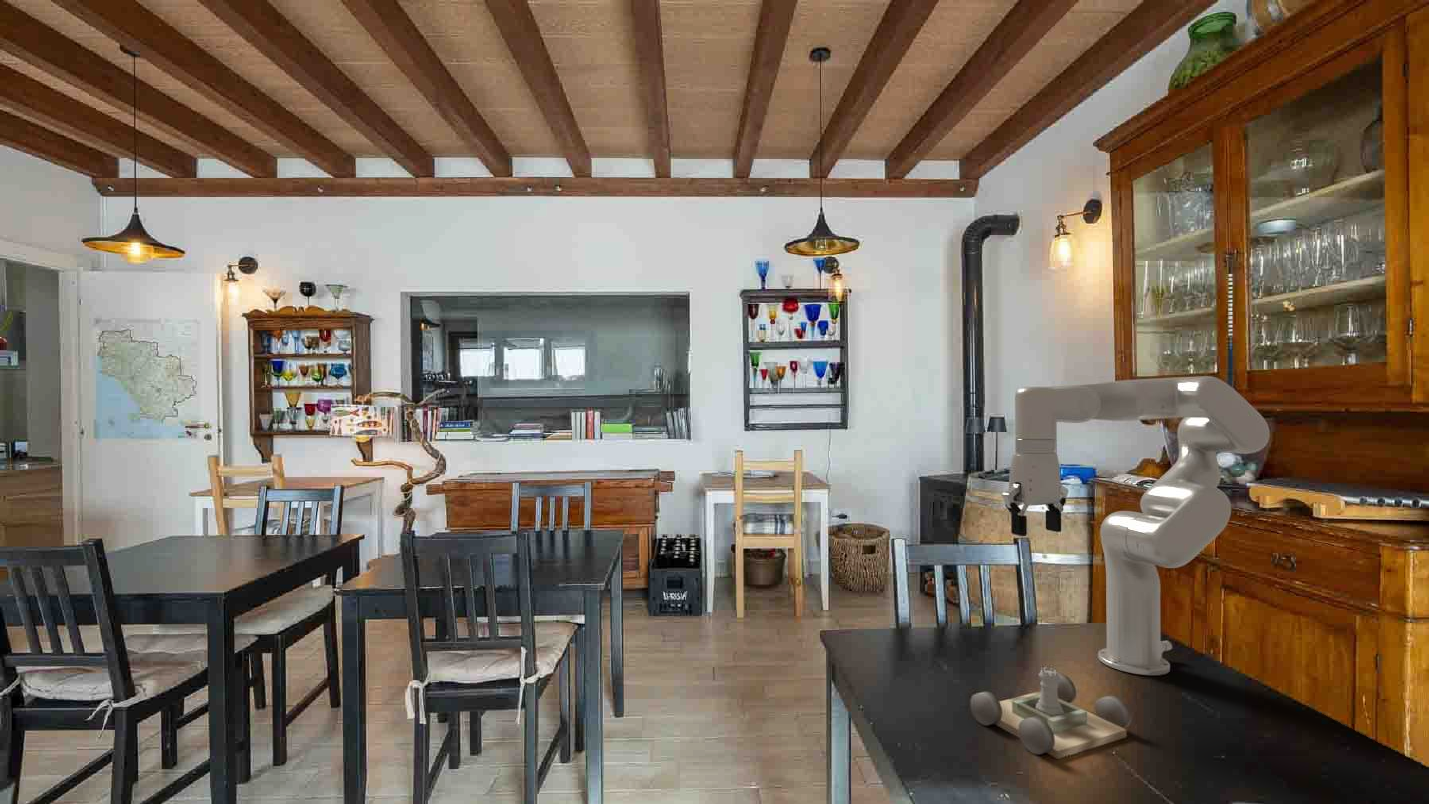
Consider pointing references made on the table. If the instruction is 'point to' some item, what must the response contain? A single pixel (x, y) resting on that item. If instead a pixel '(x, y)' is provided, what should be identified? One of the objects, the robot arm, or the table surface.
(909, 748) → the table surface
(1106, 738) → the car chassis
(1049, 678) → the rook chess piece
